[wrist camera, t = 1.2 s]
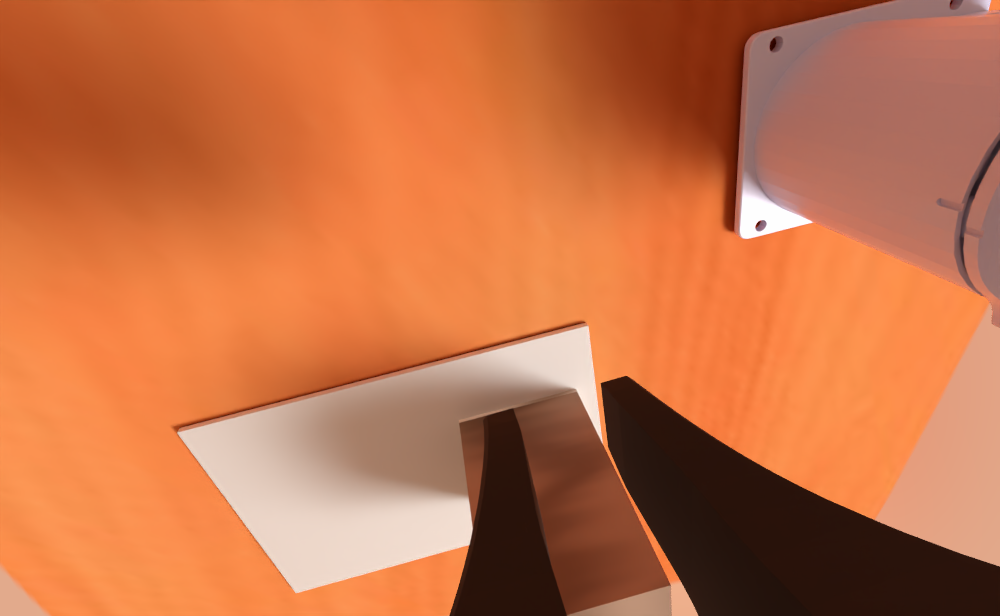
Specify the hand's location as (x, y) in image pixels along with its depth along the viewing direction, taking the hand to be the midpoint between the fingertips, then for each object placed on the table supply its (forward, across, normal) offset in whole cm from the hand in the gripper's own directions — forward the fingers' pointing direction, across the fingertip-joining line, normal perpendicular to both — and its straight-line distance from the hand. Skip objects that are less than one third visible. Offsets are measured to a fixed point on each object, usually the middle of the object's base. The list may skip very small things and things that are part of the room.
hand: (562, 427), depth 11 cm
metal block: (+10, 0, +11) cm, 15 cm away
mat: (+11, +6, +11) cm, 16 cm away
